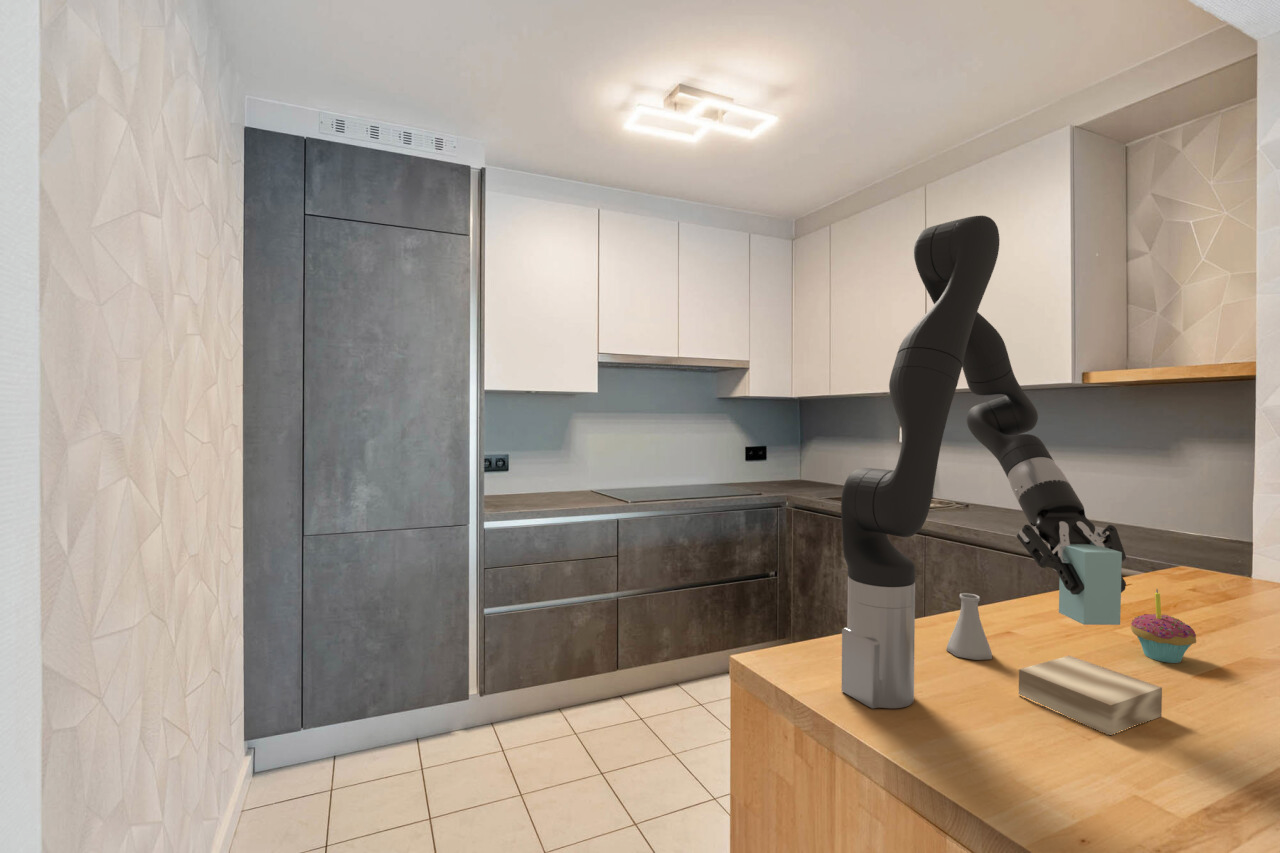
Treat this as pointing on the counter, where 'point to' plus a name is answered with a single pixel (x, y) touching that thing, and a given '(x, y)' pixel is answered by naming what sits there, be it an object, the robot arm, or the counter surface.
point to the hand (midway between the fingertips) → (1099, 591)
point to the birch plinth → (1091, 693)
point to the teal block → (1093, 586)
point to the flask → (969, 632)
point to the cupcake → (1163, 635)
